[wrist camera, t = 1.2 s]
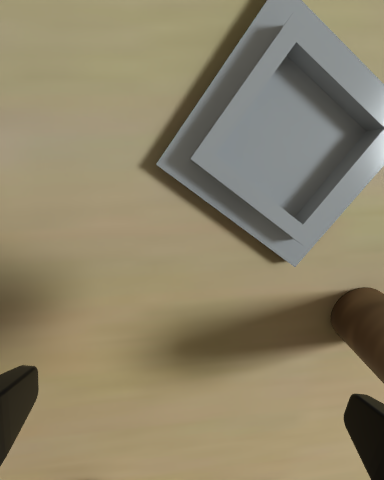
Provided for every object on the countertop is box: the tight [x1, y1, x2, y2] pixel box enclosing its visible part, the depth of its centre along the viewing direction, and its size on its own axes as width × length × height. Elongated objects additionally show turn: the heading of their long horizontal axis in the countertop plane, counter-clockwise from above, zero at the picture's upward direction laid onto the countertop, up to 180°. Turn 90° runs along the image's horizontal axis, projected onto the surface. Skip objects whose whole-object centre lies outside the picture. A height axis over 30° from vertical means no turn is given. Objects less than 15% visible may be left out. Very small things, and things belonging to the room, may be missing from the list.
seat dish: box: [156, 0, 384, 267], centre depth 17 cm, size 12×12×3 cm
